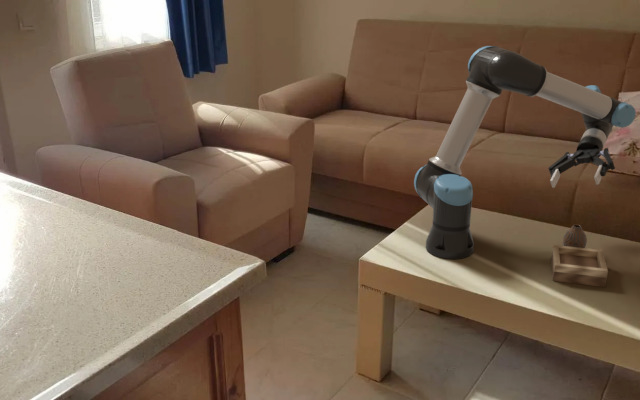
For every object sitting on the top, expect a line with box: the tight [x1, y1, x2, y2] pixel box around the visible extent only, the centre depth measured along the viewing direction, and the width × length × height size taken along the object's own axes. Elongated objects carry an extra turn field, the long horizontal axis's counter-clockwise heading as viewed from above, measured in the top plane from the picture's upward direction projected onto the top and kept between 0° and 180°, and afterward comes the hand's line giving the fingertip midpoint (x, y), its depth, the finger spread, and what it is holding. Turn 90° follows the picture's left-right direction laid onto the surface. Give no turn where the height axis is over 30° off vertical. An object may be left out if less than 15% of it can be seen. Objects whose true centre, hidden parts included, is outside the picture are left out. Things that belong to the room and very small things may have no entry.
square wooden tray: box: [550, 244, 609, 288], centre depth 183 cm, size 14×14×5 cm
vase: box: [562, 223, 588, 248], centre depth 196 cm, size 7×7×9 cm
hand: (573, 182), depth 194 cm, fingers open, 13 cm apart
